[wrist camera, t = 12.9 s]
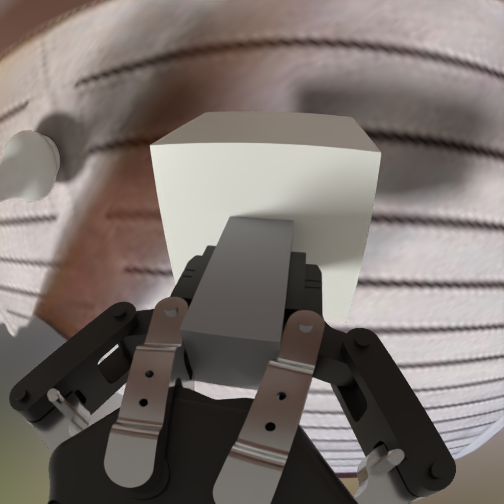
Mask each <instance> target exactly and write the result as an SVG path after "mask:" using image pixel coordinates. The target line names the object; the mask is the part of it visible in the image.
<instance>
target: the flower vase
mask: <svg viewBox="0 0 504 504" xmlns="http://www.w3.org/2000/svg"><path fill="white" fill-rule="evenodd" d="M59 168H60V154H59V151H58V148H57V146H56V144H55V143H54V142H53V140H52V139H50V138H49V137H47V136H45V135H41V134H40V133H37V132H35V131H32V130H23V131H20V132H19V133H17V134H15V135H14V136H13V137H12V138H11V139H10V140H9V141H8V142H7V144H6V145H5V147H4V149H3V152H2V154H1V158H0V202H2V201H4V200H7V199H18V200H20V201H24V202H36V201H40V200H42V199H44V198H45V197H46V196H48V195H49V193H50V192H51V190H52V189H53V187H54V184H55V181H56V177H57V173H58V171H59Z"/></svg>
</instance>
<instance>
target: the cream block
mask: <svg viewBox="0 0 504 504" xmlns="http://www.w3.org/2000/svg"><path fill="white" fill-rule="evenodd" d="M150 150H151V157H152V164H153V170H154V176H155V183H156V189H157V195H158V200H159V206H160V212H161V217H162V222H163V228H164V233H165V238H166V243H167V247H168V252H169V257H170V262H171V266H172V271H173V275H174V280H175V284H177V282H178V280H179V278H180V277H181V274H182V272H183V270H184V269H185V267H186V265H187V263H188V261H189V260H191V259H192V258H193V257H194V256H196V255H201V256H202V255H203V253H204V251H205V249H206V247H207V246H208V245H212V246H216V248H215V250H214V252H213V254H212V256H211V259H210V261H209V263H208V265H207V268H206V270H205V272H204V274H203V277H202V279H201V281H200V283H199V286H198V288H197V290H196V293H195V295H194V297H193V299H192V302H191V304H190V306H189V309H188V311H187V313H186V316H185V318H184V320H183V323H182V325H181V327H180V332H181V336H182V338H183V341H184V344H185V349H186V352H187V356H188V359H189V362H190V365H191V368H192V371H193V373H194V376H195V380H196V381H201V382H207V383H213V384H219V385H225V386H232V387H239V388H247V389H255V390H258V389H259V386H260V384H261V381H262V379H263V376H264V374H265V371H266V369H267V366H268V364H269V362H270V360H271V359H274V357H275V354H276V351H277V350H280V343H281V338H282V335H283V326H284V313H285V302H286V294H287V285H288V275H289V266H290V256H291V251H292V252H305V253H306V264H315V265H317V266H318V267H319V269H320V270H321V272H322V304H323V318H324V320H325V322H340V323H347V319H348V315H349V312H350V308H351V304H352V301H353V297H354V293H355V289H356V285H357V281H358V277H359V273H360V268H361V264H362V260H363V255H364V251H365V246H366V241H367V236H368V231H369V226H370V221H371V216H372V210H373V205H374V199H375V193H376V187H377V181H378V174H379V167H380V160H381V151H380V150H379V149H378V148H377V146H376V145H375V144H374V143H373V141H372V140H371V139H370V138H369V136H368V135H367V134H366V133H365V132H364V130H363V129H362V128H361V127H360V126H359V125H358V123H357V122H356V121H355V120H354V119H353V118H352V117H347V116H337V115H326V114H312V113H295V112H265V111H234V112H206V113H204V114H202V115H200V116H198V117H197V118H195V119H193V120H191V121H189V122H188V123H186V124H184V125H183V126H181V127H179V128H177V129H176V130H174V131H172V132H171V133H169V134H167V135H166V136H164V137H163V138H161V139H159V140H158V141H156V142H155V143H153V144H151V145H150Z"/></svg>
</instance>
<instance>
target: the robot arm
mask: <svg viewBox="0 0 504 504" xmlns="http://www.w3.org/2000/svg"><path fill="white" fill-rule="evenodd" d="M215 248H216V246H212V245H208V246H207V247H206V249H205V251H204V253H203V255H202V256H201V255H196V256H194V257H193V258H192V259H191V260H189V261H188V263H187V265H186V267H185V269H184V270H183V272H182V274H181V277H180V278H179V280H178V282H177V284H176V286H175V288H174V290H173V292H172V294H171V296H170V297H168V298H165V299H163V300H161V301H160V302H158V303H157V305H156V306H155V308H154V309H151V310H142V311H136V309H135V307H134V305H133V304H131V303H129V302H119V303H116V304H114V305H112V306H111V307H109V308H108V309H107V310H105V311H104V312H103V313H102V314H100V315H99V316H98V317H97V318H95V319H94V320H93V321H92V322H90V323H89V324H88V325H87V326H85V327H84V328H83V329H82V330H80V331H79V332H78V333H77V334H75V335H74V336H73V337H72V338H70V339H69V340H68V341H67V342H66V343H64V344H63V345H62V346H61V347H60V348H58V349H57V350H56V351H55V352H53V353H52V354H51V355H50V356H49V357H48V358H46V359H45V360H44V361H43V362H42V363H40V364H39V365H38V366H37V367H36V368H34V369H33V370H32V371H31V372H30V373H29V374H27V375H26V376H25V377H24V378H23V379H22V380H20V381H19V382H18V383H17V384H16V385H15V386H14V387H13V389H12V390H11V393H10V398H9V399H10V404H11V406H12V407H13V409H15V410H16V411H17V412H18V413H19V414H20V415H21V416H22V417H23V418H24V419H25V420H26V421H27V422H28V423H29V424H31V425H32V426H33V427H34V429H35V430H36V432H37V433H38V435H39V436H40V438H41V439H42V441H43V442H44V443H45V445H46V446H47V448H48V449H49V450H50V452H51V453H52V455H51V458H50V461H49V479H50V496H49V501H48V504H409V503H412V502H414V501H417V500H420V499H422V498H424V497H427V496H429V495H431V494H433V493H436V492H438V491H440V490H442V489H444V488H446V487H447V486H448V485H449V484H450V483H451V482H452V481H453V479H454V476H455V473H456V465H455V461H454V459H453V457H452V456H451V454H450V452H449V450H448V449H447V447H446V445H445V443H444V442H443V440H442V438H441V436H440V435H439V433H438V431H437V430H436V428H435V426H434V424H433V423H432V421H431V419H430V418H429V416H428V414H427V413H426V411H425V410H424V408H423V406H422V405H421V403H420V401H419V400H418V398H417V396H416V395H415V393H414V392H413V390H412V388H411V387H410V385H409V384H408V382H407V381H406V379H405V377H404V376H403V374H402V373H401V371H400V370H399V368H398V367H397V365H396V363H395V362H394V360H393V359H392V357H391V356H390V354H389V353H388V351H387V350H386V348H385V347H384V345H383V344H382V342H381V341H380V339H379V338H378V336H377V335H376V334H375V333H374V332H372V331H370V330H368V329H365V328H355V329H352V330H350V331H349V332H347V333H344V332H341V331H338V330H335V329H333V328H332V327H330V326H329V325H328V324H327V323H326V322H325V320H324V318H323V304H322V272H321V270H320V269H319V267H318V266H317V265H315V264H306V253H305V252H292V251H291V256H290V266H289V275H288V285H287V294H286V302H285V313H284V326H283V335H282V338H281V343H280V350H277V351H276V354H275V357H274V359H271V360H270V362H269V364H268V366H267V369H266V371H265V374H264V376H263V379H262V381H261V384H260V386H259V389H258V391H257V394H256V396H255V399H251V398H236V399H222V400H215V399H212V398H209V397H207V396H205V395H203V394H200V393H198V392H196V391H194V382H195V376H194V373H193V371H192V368H191V365H190V362H189V359H188V356H187V352H186V349H185V344H184V341H183V338H182V336H181V332H180V327H181V325H182V323H183V320H184V318H185V316H186V313H187V311H188V309H189V306H190V304H191V302H192V299H193V297H194V295H195V293H196V290H197V288H198V286H199V283H200V281H201V279H202V277H203V274H204V272H205V270H206V268H207V265H208V263H209V261H210V259H211V256H212V254H213V252H214V250H215ZM117 344H118V346H119V347H118V348H117V349H116V350H115V351H113V352H112V353H111V354H110V355H109V356H108V357H107V358H105V359H104V360H103V361H102V362H101V363H100V364H99V365H98V362H99V360H100V359H101V358H102V357H103V356H104V355H105V354H106V353H107V352H109V351H110V350H111V349H112V348H113V347H114V346H115V345H117ZM312 377H314V378H317V379H319V380H322V381H325V382H328V383H331V386H332V389H333V391H334V393H335V395H336V397H337V399H338V401H339V403H340V405H341V407H342V409H343V411H344V413H345V415H346V417H347V419H348V421H349V423H350V425H351V427H352V429H353V432H354V434H355V436H356V438H357V440H358V442H359V444H360V446H361V448H362V450H363V452H364V454H365V456H366V457H365V458H364V459H363V460H362V461H361V463H360V464H359V466H358V469H357V477H358V481H359V488H358V491H357V493H356V495H355V496H354V497H353V496H352V495H351V494H350V492H349V491H348V490H347V489H346V487H345V486H344V484H343V483H342V482H341V481H340V479H339V478H338V477H337V475H336V474H335V473H334V471H333V470H332V469H331V467H330V466H329V465H328V463H327V462H326V460H325V459H324V458H323V456H322V455H321V454H320V452H319V451H318V450H317V448H316V447H315V445H314V444H313V443H312V441H311V440H310V438H309V437H308V436H307V434H306V433H305V431H304V430H303V429H302V427H301V426H300V425H299V423H300V419H301V416H302V413H303V409H304V406H305V402H306V399H307V395H308V392H309V388H310V385H311V381H312ZM126 382H127V383H126ZM125 383H126V387H125V391H124V395H123V399H122V403H121V407H120V408H118V409H117V410H115V411H113V412H112V413H110V414H109V415H107V416H105V417H104V418H102V419H101V420H99V421H97V422H96V423H94V424H92V425H91V426H90V423H89V422H90V415H92V413H94V412H95V411H96V410H97V409H98V408H99V407H100V406H101V405H102V404H103V403H105V402H106V400H108V399H109V398H110V397H111V396H112V395H113V394H114V393H115V392H116V391H117V390H119V389H120V388H121V387H122V386H123V385H124V384H125Z"/></svg>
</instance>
